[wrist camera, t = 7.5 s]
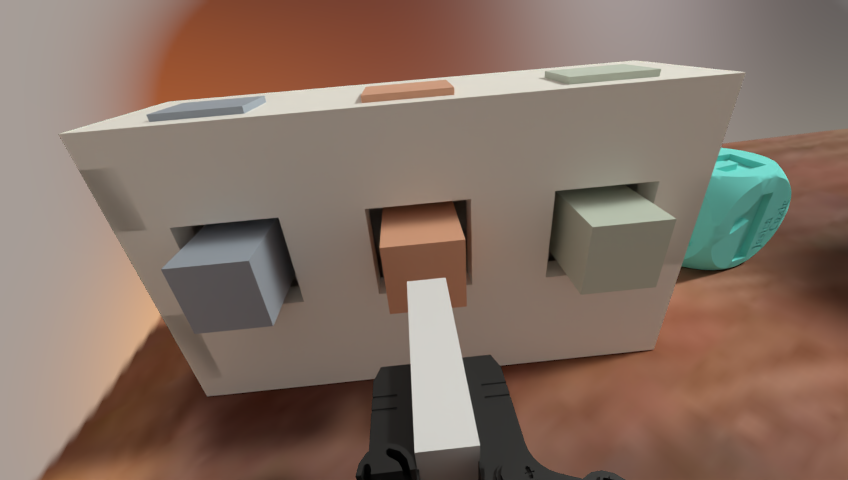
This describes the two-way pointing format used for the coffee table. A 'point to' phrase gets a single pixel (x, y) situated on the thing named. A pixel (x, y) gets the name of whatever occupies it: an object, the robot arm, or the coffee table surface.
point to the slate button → (232, 275)
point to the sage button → (609, 238)
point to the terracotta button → (422, 251)
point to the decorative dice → (738, 210)
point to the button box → (407, 185)
